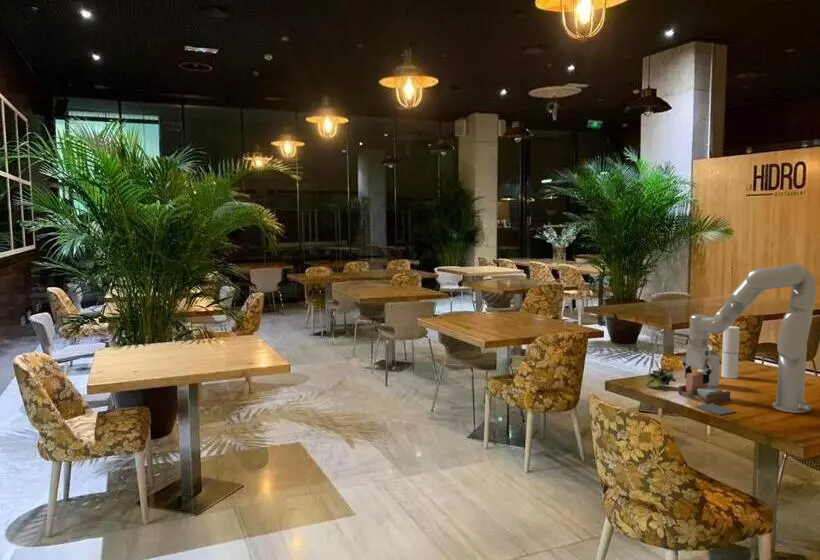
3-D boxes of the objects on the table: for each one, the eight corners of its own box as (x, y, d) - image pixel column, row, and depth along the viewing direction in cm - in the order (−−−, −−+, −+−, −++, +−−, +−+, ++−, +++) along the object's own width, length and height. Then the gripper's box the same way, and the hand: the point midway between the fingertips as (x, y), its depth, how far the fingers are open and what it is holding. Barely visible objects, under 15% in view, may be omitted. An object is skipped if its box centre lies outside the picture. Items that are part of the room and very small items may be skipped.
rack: (729, 400, 268) (730, 391, 267) (707, 404, 263) (707, 395, 262) (700, 391, 282) (700, 383, 282) (678, 394, 277) (679, 386, 277)
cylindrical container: (718, 375, 310) (720, 326, 307) (727, 374, 313) (729, 325, 310) (730, 379, 303) (732, 328, 301) (740, 377, 306) (742, 327, 304)
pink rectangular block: (707, 395, 276) (707, 373, 275) (691, 397, 273) (692, 375, 272) (700, 393, 279) (701, 371, 278) (685, 395, 276) (686, 373, 275)
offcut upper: (722, 395, 268) (722, 390, 268) (708, 397, 265) (708, 392, 265) (710, 392, 274) (710, 386, 273) (697, 394, 271) (697, 388, 270)
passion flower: (662, 397, 293) (678, 377, 292) (664, 399, 282) (680, 378, 281) (641, 382, 296) (657, 362, 295) (642, 383, 286) (659, 363, 285)
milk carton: (712, 383, 297) (714, 344, 295) (718, 387, 290) (720, 347, 288) (697, 382, 297) (698, 343, 295) (702, 386, 290) (704, 346, 288)
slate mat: (735, 412, 251) (735, 411, 251) (719, 415, 248) (719, 414, 248) (711, 404, 262) (711, 403, 262) (695, 407, 259) (695, 405, 259)
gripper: (721, 345, 267) (719, 384, 269) (689, 338, 283) (687, 375, 285) (708, 346, 264) (706, 386, 266) (676, 339, 280) (675, 376, 282)
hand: (696, 380), depth 275 cm, fingers open, 9 cm apart
